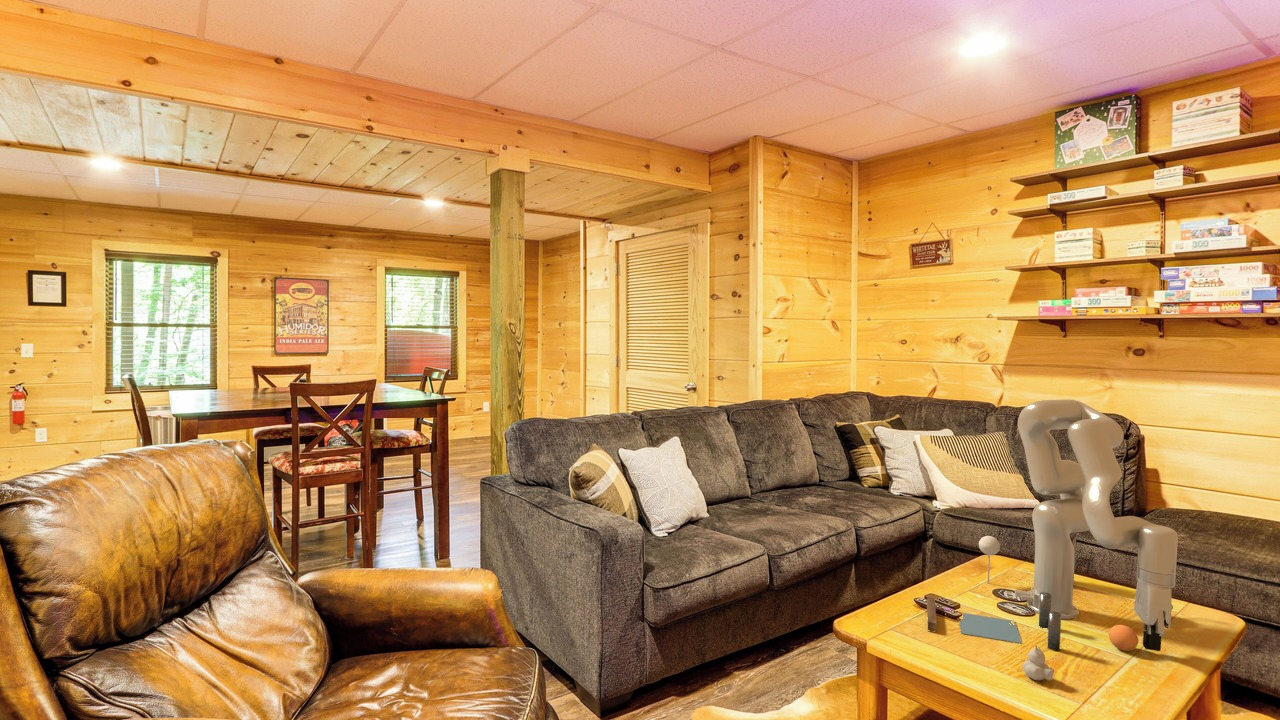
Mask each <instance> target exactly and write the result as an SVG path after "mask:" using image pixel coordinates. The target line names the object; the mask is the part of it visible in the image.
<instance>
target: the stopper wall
mask: <svg viewBox="0 0 1280 720" xmlns="http://www.w3.org/2000/svg"><path fill="white" fill-rule="evenodd" d="M926 611H927V612H926V615H927V616H926V617H928V620H927V631H928V630H930V631H936V632H937V613H936V611H937V610H936V598H935V597H933V596H927V597H926Z"/></svg>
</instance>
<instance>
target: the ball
mask: <svg viewBox="0 0 1280 720" xmlns="http://www.w3.org/2000/svg"><path fill="white" fill-rule="evenodd" d="M1108 639H1109V641H1110V643H1111V644H1112V645H1113V646H1114V647H1115V648H1117V649H1118V650H1121V651H1123V652H1124V651H1126V652H1127V651H1128V652H1129V651H1132V650H1135V649H1136V648H1137V647H1138V645H1139V637H1138V635H1137V633H1136V631H1134V629H1132V628H1131V627H1129V626H1127V625H1123V624H1115V625H1114V626H1112V627H1111V628H1110V629H1109V632H1108Z"/></svg>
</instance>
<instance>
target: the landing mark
mask: <svg viewBox="0 0 1280 720" xmlns="http://www.w3.org/2000/svg"><path fill="white" fill-rule="evenodd" d="M962 613H963V619H962V620H961V621H959V620H958V622H959V623H960V624H959V630H961V631H960V634H961V633H962V634H961V635H967V636H972V637H978V638H979V637H980V638H983V639H990V640H997V641H1001V640H1003V641H1002V642H1007V641H1008V643H1013V642H1015V644H1019V643H1020V645H1022V644H1023V642H1022V640H1021V636H1020V633H1019V630H1018V627H1017V624H1016V622H1015V623H1014V624H1015V625H1016V626H1015V625H1013V624H1012V623H1011V621H1013V620H1011V619H1005V618H1001V617H1000V618H999V617H992V616H986V615H981V614H980V615H979V614H974V613H973V614H972V613H968V612H962ZM1009 623H1010V624H1011V625H1010V624H1009Z"/></svg>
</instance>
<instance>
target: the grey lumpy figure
mask: <svg viewBox="0 0 1280 720" xmlns="http://www.w3.org/2000/svg"><path fill="white" fill-rule="evenodd" d="M1027 656H1028V657H1027V659H1028V660H1025V661H1024V662H1023V667H1022V668H1023V671H1024V674H1025V675H1026V676H1027V677H1028V678H1030V679H1032V680H1035V681H1043V680H1047V681H1052V680H1053V679H1054V678H1053V675H1054V674H1055V670H1054V669H1053V668H1052V667H1051V666H1049V665H1048V664H1047V663H1045V662H1046V655H1045V653H1044V652H1043V650H1042V649H1041V647H1038V646H1037V643H1035V645H1034V648H1032V649H1030V652H1027Z"/></svg>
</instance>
